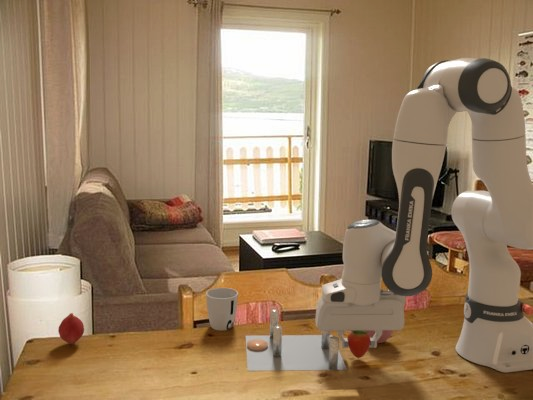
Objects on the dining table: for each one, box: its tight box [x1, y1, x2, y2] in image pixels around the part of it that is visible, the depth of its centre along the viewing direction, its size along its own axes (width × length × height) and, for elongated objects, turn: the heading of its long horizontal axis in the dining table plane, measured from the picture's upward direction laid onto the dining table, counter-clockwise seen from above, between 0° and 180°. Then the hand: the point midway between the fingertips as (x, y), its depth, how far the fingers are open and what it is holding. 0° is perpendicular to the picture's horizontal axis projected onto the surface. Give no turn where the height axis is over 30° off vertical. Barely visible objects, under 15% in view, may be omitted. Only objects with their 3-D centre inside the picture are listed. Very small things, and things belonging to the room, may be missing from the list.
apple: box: [364, 330, 395, 344], centre depth 139 cm, size 8×8×8 cm
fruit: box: [346, 330, 370, 359], centre depth 129 cm, size 5×5×8 cm
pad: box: [247, 339, 268, 351], centre depth 133 cm, size 5×5×1 cm
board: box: [245, 334, 348, 372], centre depth 131 cm, size 22×18×1 cm
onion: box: [58, 312, 85, 345], centre depth 134 cm, size 6×6×8 cm
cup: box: [205, 287, 239, 332], centre depth 144 cm, size 8×8×10 cm
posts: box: [269, 308, 340, 371], centre depth 130 cm, size 14×18×7 cm
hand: (358, 346), depth 129 cm, fingers closed on fruit, 5 cm apart
